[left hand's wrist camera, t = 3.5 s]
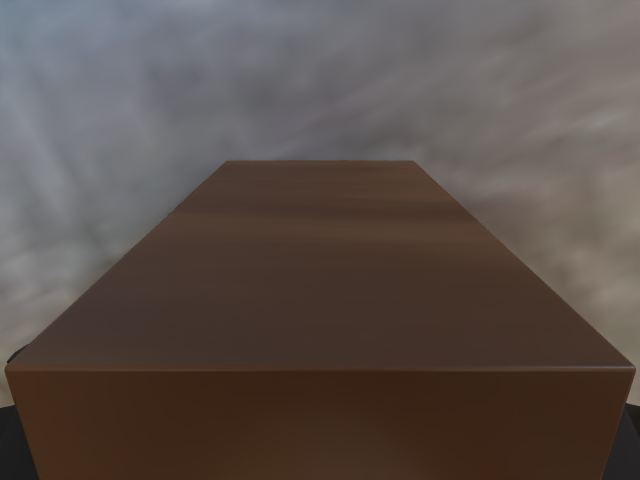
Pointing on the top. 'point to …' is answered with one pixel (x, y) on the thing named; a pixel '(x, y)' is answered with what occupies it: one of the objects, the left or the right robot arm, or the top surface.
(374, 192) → the box
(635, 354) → the top surface
